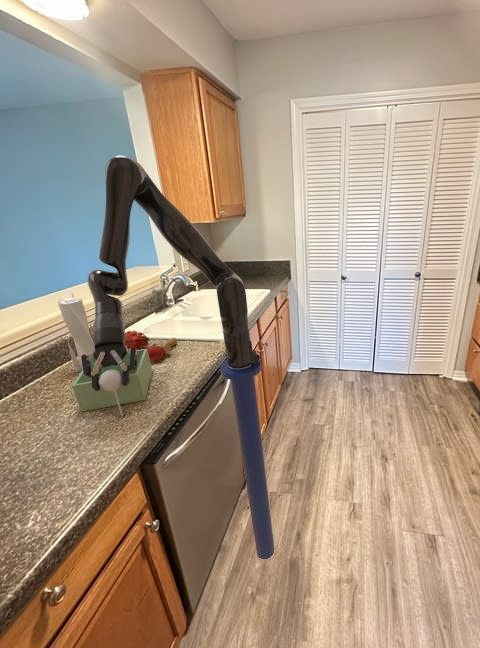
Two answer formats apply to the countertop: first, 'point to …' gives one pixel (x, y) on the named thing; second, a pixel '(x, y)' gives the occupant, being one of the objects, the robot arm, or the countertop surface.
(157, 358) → the kendama
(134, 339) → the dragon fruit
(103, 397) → the bin
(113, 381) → the lollipop
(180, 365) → the countertop surface
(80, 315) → the skyscraper
